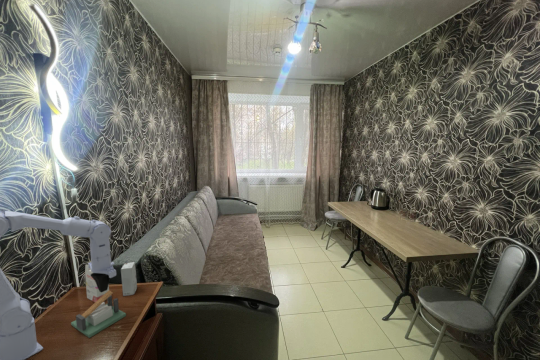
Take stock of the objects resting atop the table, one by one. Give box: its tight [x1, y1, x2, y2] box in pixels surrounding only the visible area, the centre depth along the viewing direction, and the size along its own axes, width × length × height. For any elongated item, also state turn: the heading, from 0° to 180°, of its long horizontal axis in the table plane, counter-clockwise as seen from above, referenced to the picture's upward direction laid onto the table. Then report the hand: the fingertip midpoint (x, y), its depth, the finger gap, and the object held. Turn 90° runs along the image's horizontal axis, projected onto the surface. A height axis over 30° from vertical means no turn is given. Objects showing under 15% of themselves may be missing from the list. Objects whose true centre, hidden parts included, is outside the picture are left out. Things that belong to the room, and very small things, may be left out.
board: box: [70, 294, 127, 339], centre depth 84 cm, size 12×12×6 cm
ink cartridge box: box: [84, 264, 110, 303], centre depth 97 cm, size 9×5×15 cm, turn 62°
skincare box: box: [120, 261, 138, 297], centre depth 102 cm, size 6×4×12 cm
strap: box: [81, 290, 113, 318], centre depth 84 cm, size 10×2×1 cm, turn 152°
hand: (103, 290), depth 85 cm, fingers closed
